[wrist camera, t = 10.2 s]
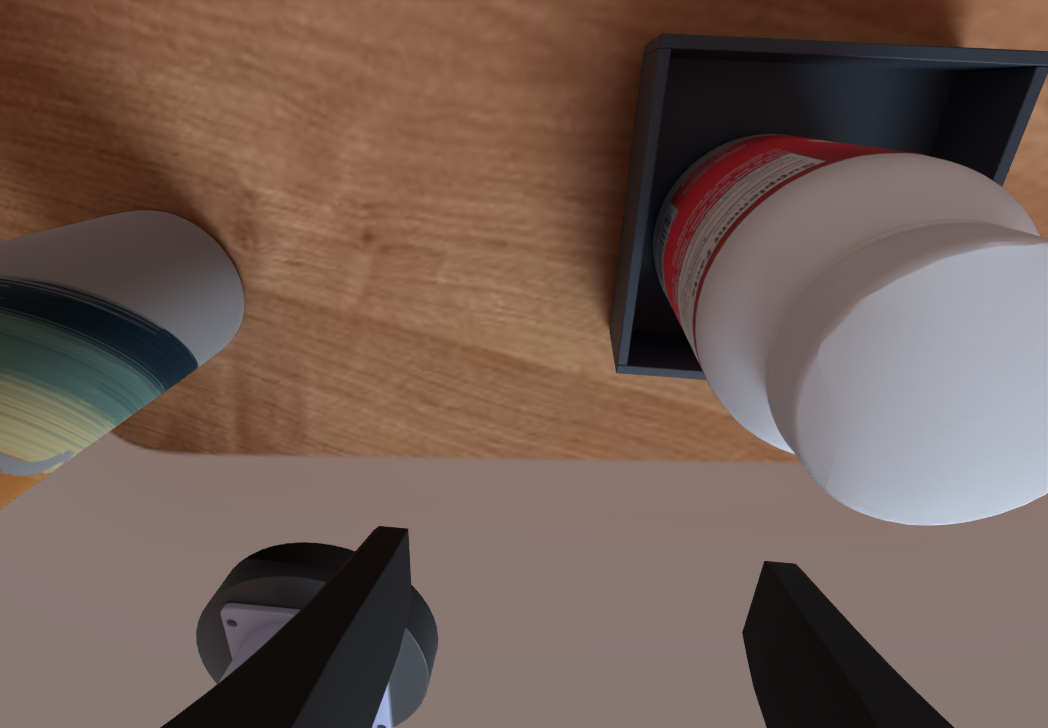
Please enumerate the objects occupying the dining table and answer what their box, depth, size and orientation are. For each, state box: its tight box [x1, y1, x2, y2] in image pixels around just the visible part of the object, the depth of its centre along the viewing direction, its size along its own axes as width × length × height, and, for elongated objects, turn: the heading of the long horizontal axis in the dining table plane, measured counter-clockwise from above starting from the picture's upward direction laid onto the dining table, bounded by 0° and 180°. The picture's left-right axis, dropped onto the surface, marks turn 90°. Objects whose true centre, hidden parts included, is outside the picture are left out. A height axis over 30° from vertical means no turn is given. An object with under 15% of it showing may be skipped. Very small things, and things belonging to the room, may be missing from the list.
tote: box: [610, 34, 1048, 380], centre depth 17 cm, size 9×9×3 cm
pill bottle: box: [653, 134, 1048, 525], centre depth 13 cm, size 6×6×11 cm
